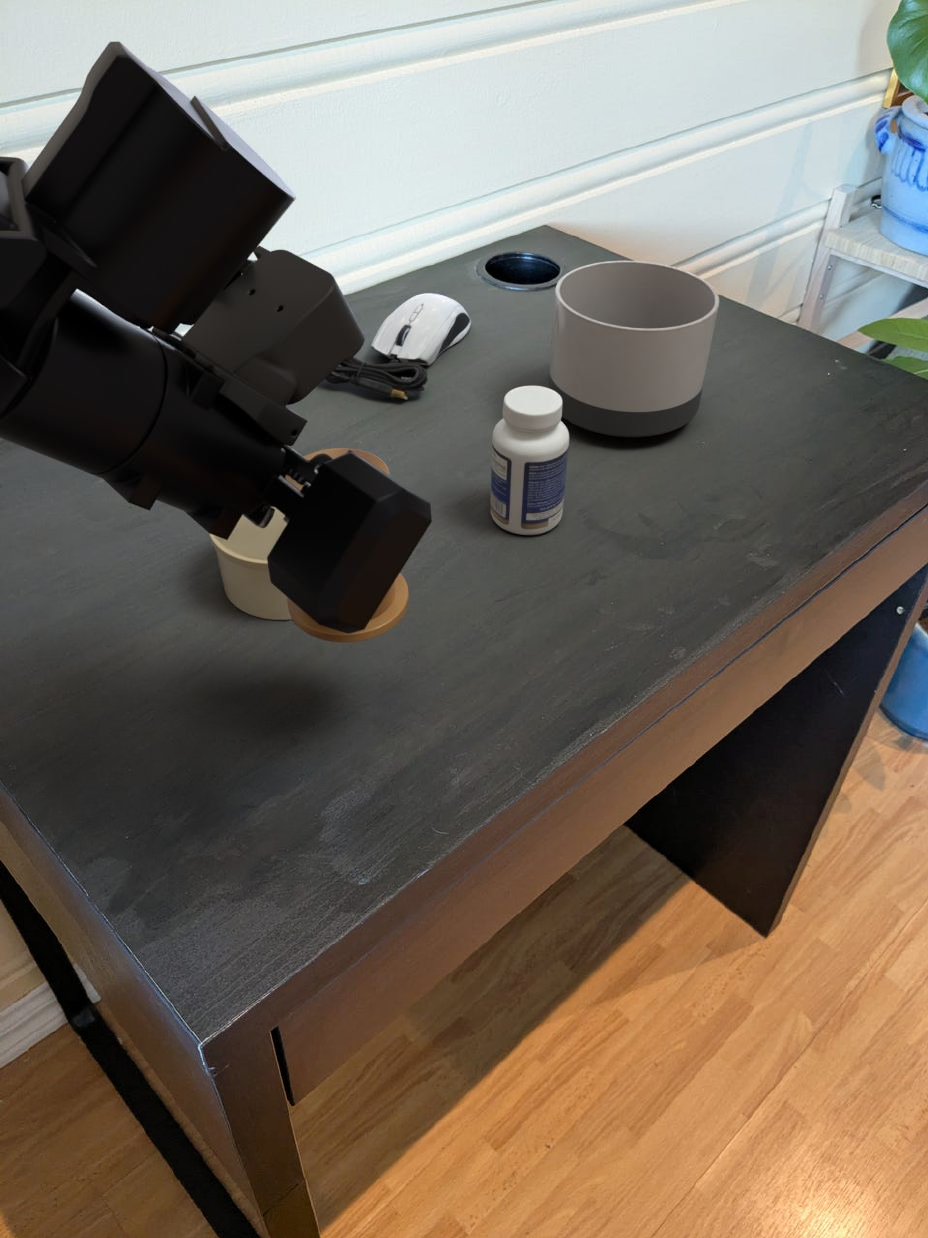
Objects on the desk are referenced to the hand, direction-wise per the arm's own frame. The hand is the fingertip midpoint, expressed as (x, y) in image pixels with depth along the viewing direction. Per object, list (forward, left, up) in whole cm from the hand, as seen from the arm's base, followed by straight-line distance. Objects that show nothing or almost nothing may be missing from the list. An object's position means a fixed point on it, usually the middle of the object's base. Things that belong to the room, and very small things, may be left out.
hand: (364, 522), depth 49 cm
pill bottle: (+15, +15, -13) cm, 25 cm away
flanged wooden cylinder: (-1, -1, -5) cm, 5 cm away
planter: (+28, +27, -13) cm, 41 cm away
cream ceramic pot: (-3, +13, -13) cm, 19 cm away
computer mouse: (+13, +42, -13) cm, 46 cm away
